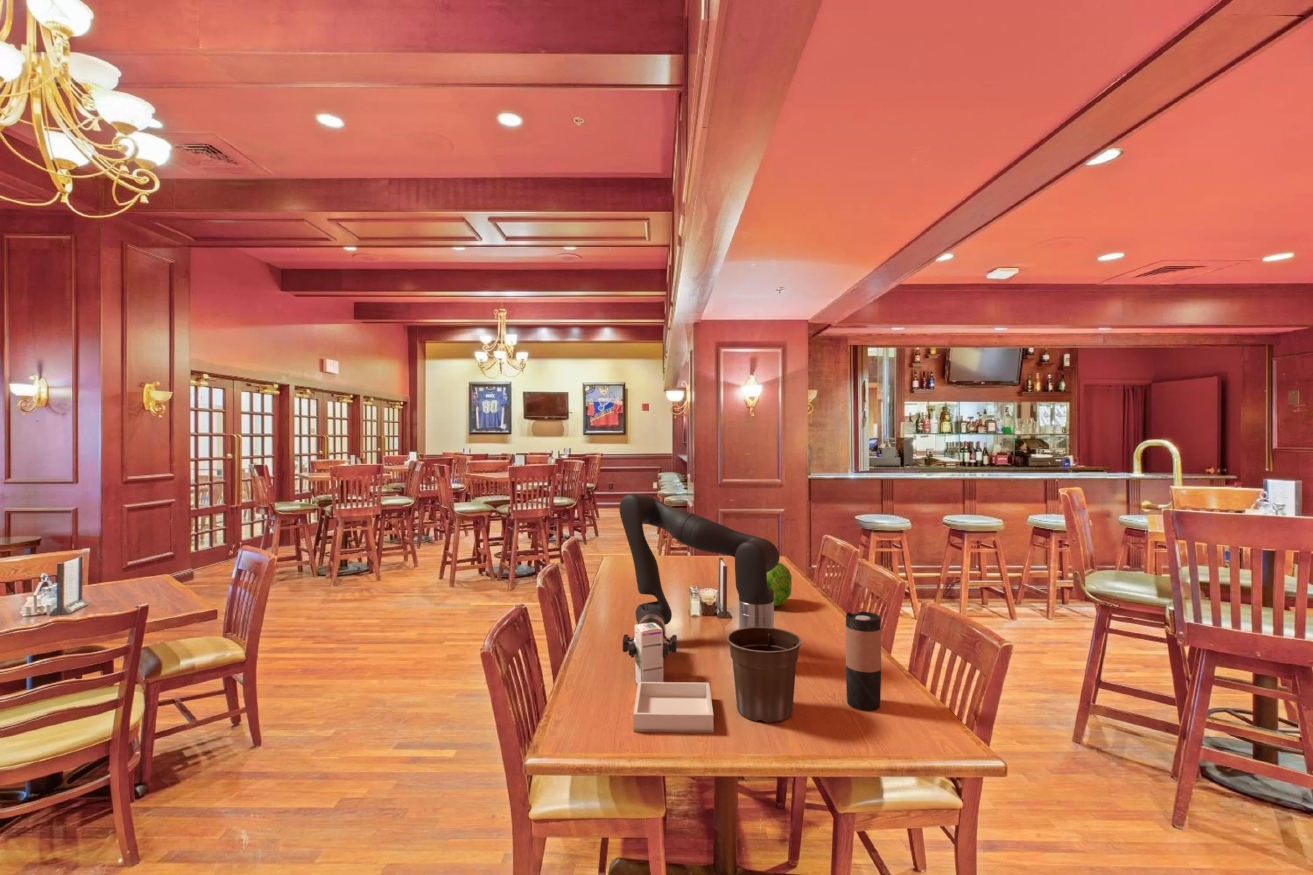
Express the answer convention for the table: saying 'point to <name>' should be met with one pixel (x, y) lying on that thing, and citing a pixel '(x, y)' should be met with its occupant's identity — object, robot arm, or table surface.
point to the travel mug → (863, 660)
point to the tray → (673, 707)
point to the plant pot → (764, 671)
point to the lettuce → (780, 583)
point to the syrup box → (648, 653)
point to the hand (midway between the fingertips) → (648, 653)
